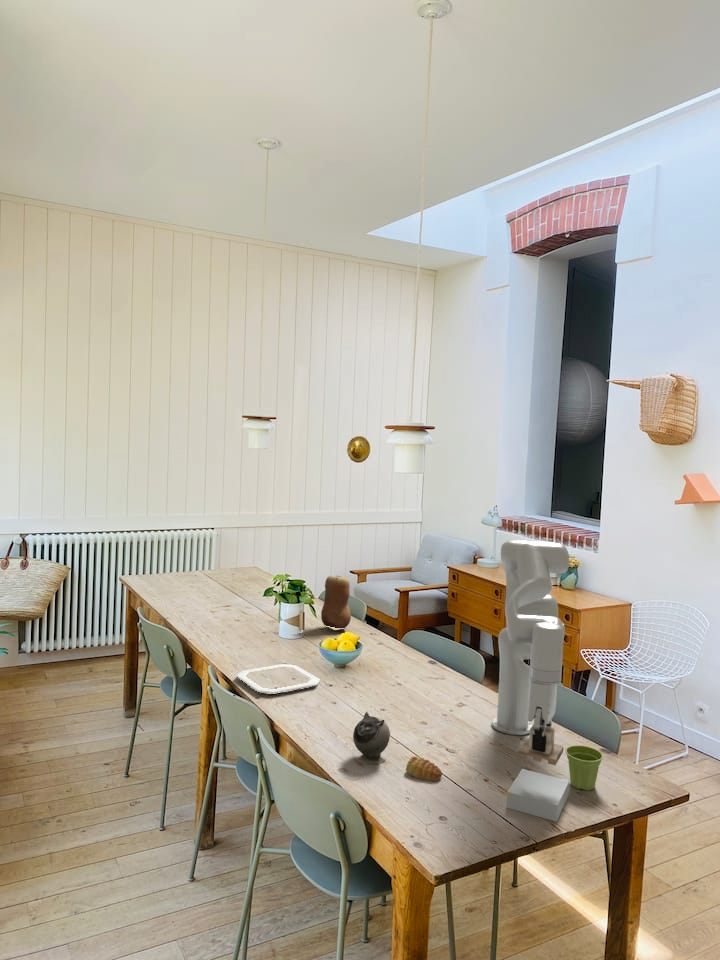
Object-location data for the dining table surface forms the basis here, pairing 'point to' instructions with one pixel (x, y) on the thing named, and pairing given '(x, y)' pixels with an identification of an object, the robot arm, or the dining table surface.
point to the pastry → (423, 769)
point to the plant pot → (583, 766)
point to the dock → (538, 794)
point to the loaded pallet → (540, 755)
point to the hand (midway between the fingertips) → (541, 745)
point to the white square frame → (312, 682)
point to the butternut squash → (336, 602)
